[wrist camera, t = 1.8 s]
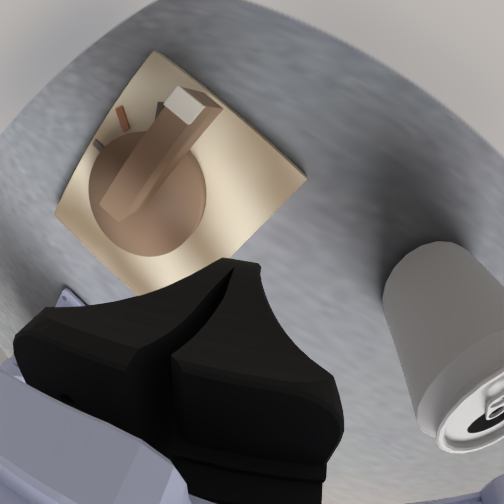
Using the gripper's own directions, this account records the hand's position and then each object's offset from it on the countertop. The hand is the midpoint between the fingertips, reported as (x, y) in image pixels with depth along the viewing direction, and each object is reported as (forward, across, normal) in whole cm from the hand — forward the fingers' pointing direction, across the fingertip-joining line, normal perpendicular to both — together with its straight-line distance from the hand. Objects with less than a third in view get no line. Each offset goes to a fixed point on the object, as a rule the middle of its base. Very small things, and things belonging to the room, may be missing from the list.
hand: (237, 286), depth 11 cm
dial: (+8, +6, -2) cm, 11 cm away
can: (+10, -12, +3) cm, 16 cm away
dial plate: (+10, +7, 0) cm, 12 cm away
